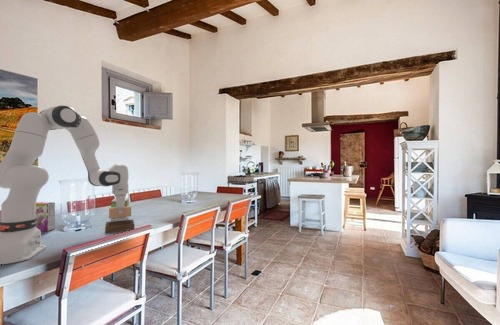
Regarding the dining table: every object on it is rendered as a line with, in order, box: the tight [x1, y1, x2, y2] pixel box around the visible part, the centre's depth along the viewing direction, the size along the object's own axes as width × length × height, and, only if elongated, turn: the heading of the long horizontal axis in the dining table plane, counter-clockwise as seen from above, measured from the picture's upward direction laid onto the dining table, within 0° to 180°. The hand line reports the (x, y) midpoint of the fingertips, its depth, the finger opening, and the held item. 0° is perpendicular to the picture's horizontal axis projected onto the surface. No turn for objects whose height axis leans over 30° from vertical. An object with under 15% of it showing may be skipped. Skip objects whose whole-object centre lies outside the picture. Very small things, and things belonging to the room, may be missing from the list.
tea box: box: [109, 197, 130, 222], centre depth 165 cm, size 15×10×15 cm, turn 24°
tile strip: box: [108, 205, 132, 219], centre depth 147 cm, size 2×12×6 cm, turn 119°
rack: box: [104, 219, 135, 234], centre depth 145 cm, size 12×15×4 cm
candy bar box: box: [35, 201, 56, 232], centre depth 140 cm, size 11×5×16 cm, turn 84°
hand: (120, 212), depth 147 cm, fingers closed on tile strip, 2 cm apart
